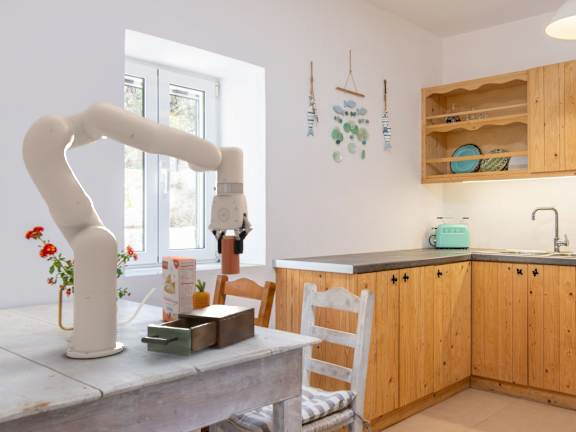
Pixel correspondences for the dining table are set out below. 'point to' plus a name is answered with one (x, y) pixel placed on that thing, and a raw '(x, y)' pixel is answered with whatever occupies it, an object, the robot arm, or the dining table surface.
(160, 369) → the dining table surface
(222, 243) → the spice jar
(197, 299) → the carrot
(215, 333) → the drawer
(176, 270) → the cracker box
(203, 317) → the cabinet
